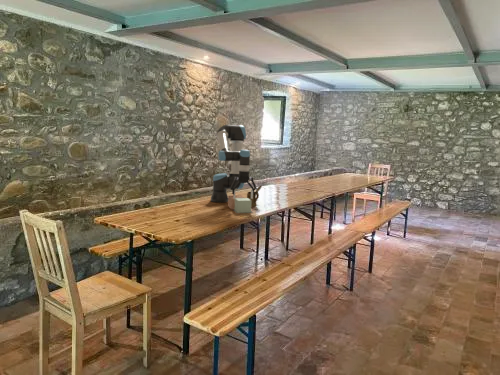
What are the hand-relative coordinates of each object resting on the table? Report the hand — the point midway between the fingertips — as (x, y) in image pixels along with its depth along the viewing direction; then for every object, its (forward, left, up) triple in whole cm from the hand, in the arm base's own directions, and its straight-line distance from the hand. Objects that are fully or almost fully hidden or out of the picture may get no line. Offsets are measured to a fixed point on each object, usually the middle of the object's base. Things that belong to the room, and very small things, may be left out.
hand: (243, 198), depth 283 cm
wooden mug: (-19, +14, -10) cm, 25 cm away
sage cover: (+1, 0, -9) cm, 9 cm away
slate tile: (0, 0, -10) cm, 10 cm away
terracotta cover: (-12, -2, -10) cm, 16 cm away
